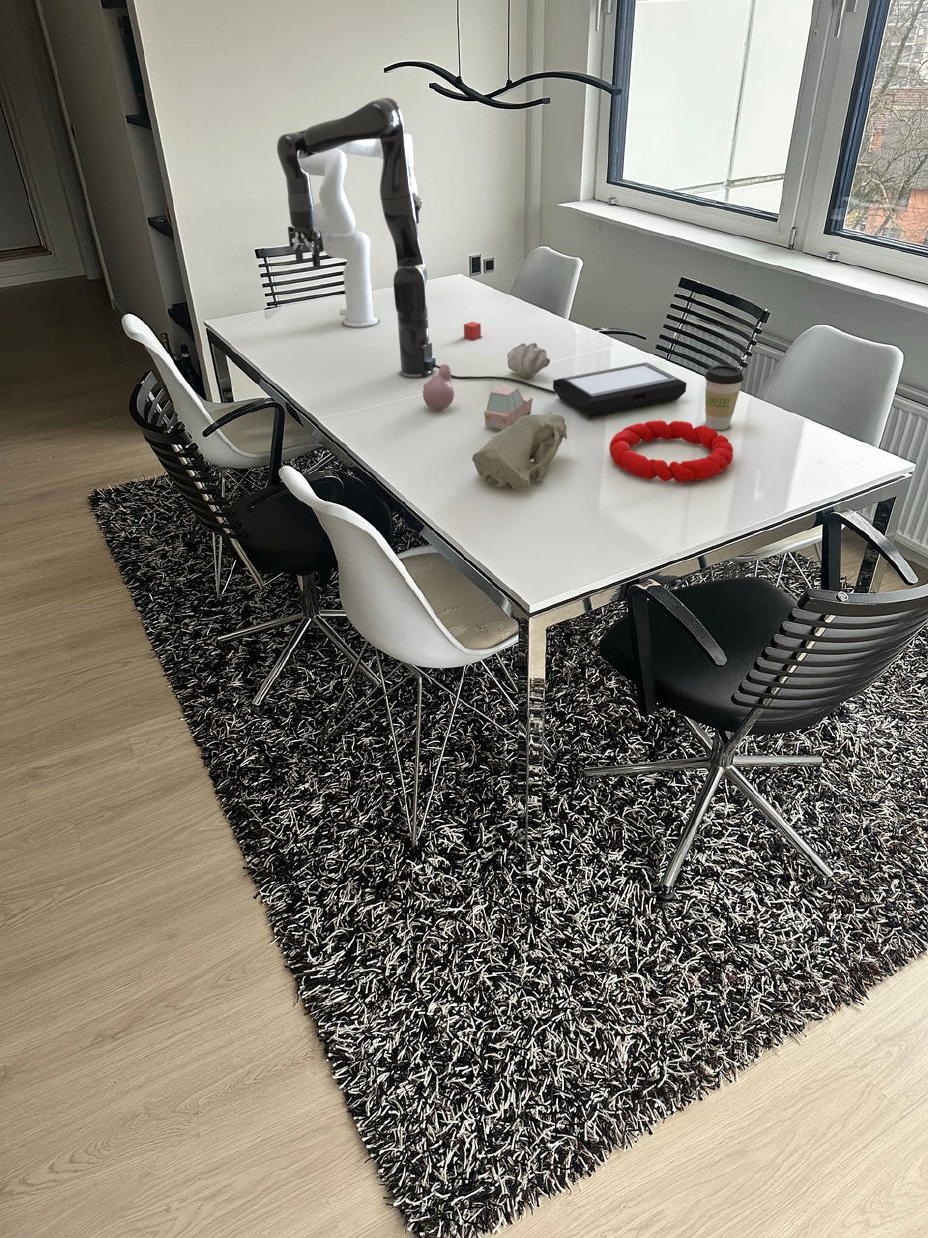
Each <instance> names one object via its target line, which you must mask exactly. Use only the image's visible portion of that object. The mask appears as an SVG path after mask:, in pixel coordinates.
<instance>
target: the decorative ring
mask: <svg viewBox="0 0 928 1238" xmlns="http://www.w3.org/2000/svg"><path fill="white" fill-rule="evenodd" d="M657 439H662V440H665V441H672V440H678V439H682V440H683V441H685V442H687V443H689V444H692V445H702V447H703V448H704V449H707V450H709V451H710V452H712V453H710V454H709V455H707V456H706V457H702V458H698V459H692V460H691V459H690V460H683V461H681V462H680V463H679V462H678V461H675V460H674V461H671V462H670V463H669V465H668V463H667V461H665V460H663V459H654V458H652V459H648V458H647V456H646V455H642V454H639V453H638V452H637V451H634V450H631V447H634V446H636V445H638V444H639V443H641V441H642V442H652V441H654V440H657ZM733 453H734V448H733V445H732V444H731V442H729V439H728V438H727V437H726V436H725V435H722V434H719V432H718V431H717V430H716V429H711V428H709V427H707V426H706V425H697V426H696V427H693V424H692V423H691V422H688V421H682V420H673V421H671V422H669V424H668V423H667V422H666V421H665V420H659V419H658V420H649V421H646V422H645V423H642V422H639V423H638V422H637V423H634V424H631V425H629V426H627V427H624V428H623V429H622V430H620V431H618V432H617V433H615V434H614V436H613V437H612V438H611V441H610V443H609V454H610V458H611V460H612V461H613V462H614V464H615V465H616V466H618V467H619V468H620V469H621V470H624V471H626V472H627V473H628V474H631V475H633V476H636V477H639V478H642V479H646V480H652V479H655V478H656V477H658V479H660V480H661V481H662V482H669V481H670V480H674V481H675V483H690V482H691V483H692V482H696V481H698V480H700V481H703V480H704V481H705V480H707V479H711V478H713V477H715V476H718V475H719V474H720V473H721V472H723V471H725V470H726V469H727V468H728V466H729V465H731V464H732V462H733V459H734V454H733Z"/></svg>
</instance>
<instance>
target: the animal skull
mask: <svg viewBox="0 0 928 1238" xmlns="http://www.w3.org/2000/svg"><path fill="white" fill-rule="evenodd" d="M567 429H568V427H567V424H566V419H565V418H564V416H563V415H562V414H559V413H554V412H552V411H547V412H544V413H537V414H530V415H527V416H523V417H520V418H519V419H518V420H517V421H516V422H515V423H514V424H513V425H511V426H509V427H507V428H505V429H501V430H500V431H499V432H498V433H497V434H495V435H494V436H493V437H491V439H489V440H488V441H487V442H486V443H485V444H484V445H483V446H482V447H481V448H480V449H479V450H478V451H477V452H475V453H474V454H473V455H472V458H471V461H472V462H473V464H474V467H475V469H476V471H477V473H478V475H479V476H480V477H482V478H483V480H484V481H485V482H486V483H491V482H497V488H501V487H503V486H504V485H505V484H507V483H508V484H509V485H510V486H511V488H512V490H515V489H517V488H520V487H521V488H523V487H524V488H526V487H527V488H529V487H530V475H531V474H533V473H535V476H536V479H535V481H536V482H537V483H539V482H540V481H541V480H542V477H543V476H544V474H545V473H546V472H547V471H548V468H549V466H550V465H551V463H552V462H553V460H554V459H555V456H556V454H557V452H558V450H559V447H560V446H561V444H562V442H563V440H568V434H567Z"/></svg>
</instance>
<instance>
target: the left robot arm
mask: <svg viewBox="0 0 928 1238" xmlns="http://www.w3.org/2000/svg"><path fill="white" fill-rule="evenodd" d="M404 139H405V151H406V159H407V165H408V171H409V178H410V184H411V189H412V194H413V199H414V206H415V213H416V221H417V224H419V223H420V218H419V212H420V210H421V208H422V205H423V199H422V198H420V197H419V195H418V188H417V182H416V177H415V171H414V152H413V151H414V149H413V148H414V147H413V137H412V135H411V134H410V133H405V132H404ZM346 154H349V155H356V156H361V157H368V158H379V159H381V160H383V152H382V146H381V141H380V139H369V140H358V141H353V142H349V143H346V144H344V145H342V146H340V147H337V148H335V149H332V150H328V151H325V152H322V153H316V154H314V155H312V156H310V157H307V158H304V159H299V163H300V166H301V168H302V169H305V170H307V171H308V172H309V176H317V177H318V176H321V177H323V180H322V182H321V185H320V187H319V191H318V199H319V202H317V203H314V210H315V219H316V224H315V225H314V226H313V228H314V231H321V234H322V241H323V248H324V251H323V252H324V253H325V254H326V255H327V256H328V257H330V258H334V259H336V258H337V259H343V260H346V263H345V266H344V268H343V270H342V271H343V272H342V275H343V276H342V277H343V285H344V296H345V305H346V306H345V308H342V307H341V308H340V309H339V313H338V314H339V316H344V319H343V324H344V325H345V326H347V327H351V328H366V327H371V326H374V325H376V324H378V322H379V317H377V316H376V315H374V306H373V305H374V304H373V295H372V281H371V271H370V269H371V268H370V257H371V256H370V255H371V240H370V237H369V236H368V235H367V234H366V233H364V232H362V231H360V230H355V228H356V218H355V215H354V212H353V210H352V207H351V206H350V203H349V201H348V199H347V197H346V193H345V191H344V181H345V176H346V173H347V168H348V167H347V166H348V160H347V156H346Z"/></svg>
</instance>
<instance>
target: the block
mask: <svg viewBox="0 0 928 1238" xmlns="http://www.w3.org/2000/svg"><path fill="white" fill-rule="evenodd" d="M481 328H482V325H481V323H478V322H474V321H470V322H466V323H464V324H463V339H466V340H470V341H474V340H477V339H480V338H481V337H482V329H481Z"/></svg>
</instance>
